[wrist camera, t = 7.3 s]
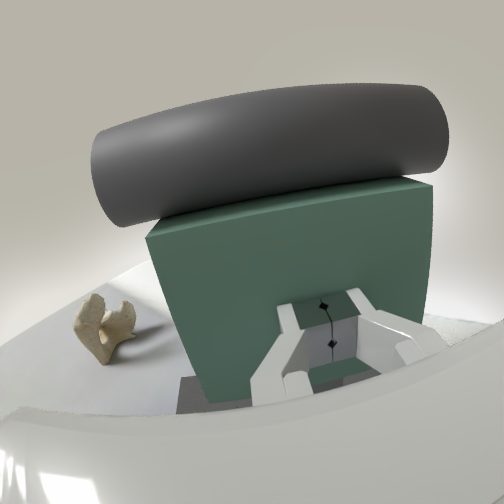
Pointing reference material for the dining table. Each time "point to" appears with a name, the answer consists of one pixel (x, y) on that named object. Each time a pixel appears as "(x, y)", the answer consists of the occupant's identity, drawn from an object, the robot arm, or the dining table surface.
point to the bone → (103, 326)
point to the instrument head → (277, 212)
